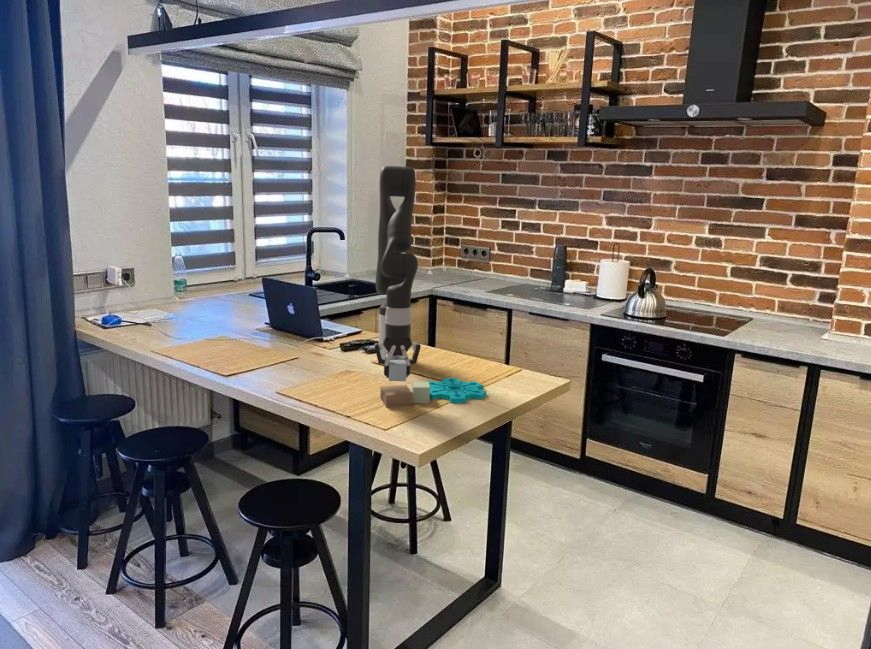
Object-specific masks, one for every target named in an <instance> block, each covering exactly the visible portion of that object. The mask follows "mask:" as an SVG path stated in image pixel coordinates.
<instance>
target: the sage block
mask: <svg viewBox="0 0 871 649" xmlns="http://www.w3.org/2000/svg"><path fill="white" fill-rule="evenodd" d="M411 388H412V389H411V392H412V393H413V404H429V403H430V400H431V398H430V385H429V382H428V381H412V387H411Z"/></svg>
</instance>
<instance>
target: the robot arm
mask: <svg viewBox="0 0 871 649" xmlns="http://www.w3.org/2000/svg"><path fill="white" fill-rule="evenodd" d="M416 183H417V176H416V172H415V169H414V167H410V166H400V165H399V166H398V165H396V166H395V165H384V166H383V167H382V168H381V169H380V173H379V221H378V222H379V223H378V238H377V239H378V240H377V246H378V247H377V248H378V249H377V250H378V251H377V254H378V255H377V265H376V273H375V290H376V292H377V294H378V295H382V296H386V302H385V303H382V304H380V306H379V307H378V308H379V309H378V311H379V313H378V342H375V343H374V344H373V346H374V349H375V353H376V358H377V362H378V364H379V365H383V374H384V377H386V379H388V378H389V362H390V360H405V362H406V379H408V378H409V376H410V375H411V365H415V364H416V363H417V361H418V358H419V354H420V351H421V347H422V346H421V344H420V342H414V341H413V342H412V339H411V332H412V331H411V329H412V327H411V326H412V308H411V305H412V304H411V303H412V302H411V300H412V298H411V297H412V288H413V283H414V280H415V277H416V273H417V271H418V267H419V261H418V258H417V256H416V255H415V254H413V253H408V251H409V250H410V249H411V247H412V220H413V213H414V212H413V211H414V206H415V205H414V204H415V197H416V196H415V195H416V186H417V185H416ZM391 197H396V198H397V197H398V198H399V197H401V198H404V199H403V201H402V203H401V204H400V206H399V207H398V208H397V209H396V207H395V206H394V204H393V202H392V199H391ZM406 252H407V253H406ZM411 347H412V350H413V353H412V357H411V358H410V359H409V356H408V351H409V350H410V349H411Z"/></svg>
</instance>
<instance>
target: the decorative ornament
mask: <svg viewBox="0 0 871 649" xmlns="http://www.w3.org/2000/svg"><path fill="white" fill-rule="evenodd" d="M427 382H429V385H430V400H437V399H443V400H447V401H448V400H449V402H450V404H466V403H467V400H471V399H477V400H483V399H484V398H485V397H486V396H487V392H488V391H487V390H484V384H483V383H479V381H478V382H477V381H475V380H473V381H469V382H468V381H462V380H459V378H458V377H444V378H443V380H440V381H431V380H427Z"/></svg>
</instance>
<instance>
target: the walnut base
mask: <svg viewBox="0 0 871 649" xmlns="http://www.w3.org/2000/svg"><path fill="white" fill-rule="evenodd" d="M379 392H380V393H379V394H380V395H379V397H380V398H381V399H380V400H381V402H382V401H383V402H382V403H383V405H384V404H385V405H384V406H385V408H395V407H409V406H413V404H414V403H413V393H412V390H411V389H410V388H409V387H408V385H407V384H400V385H385V386H384V385H383V386H380V391H379Z"/></svg>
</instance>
